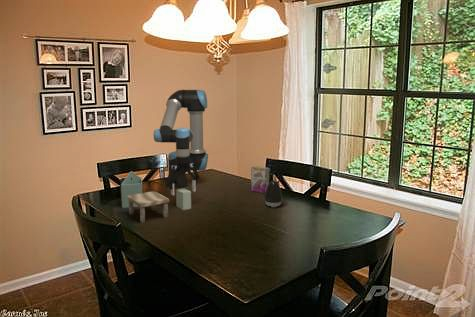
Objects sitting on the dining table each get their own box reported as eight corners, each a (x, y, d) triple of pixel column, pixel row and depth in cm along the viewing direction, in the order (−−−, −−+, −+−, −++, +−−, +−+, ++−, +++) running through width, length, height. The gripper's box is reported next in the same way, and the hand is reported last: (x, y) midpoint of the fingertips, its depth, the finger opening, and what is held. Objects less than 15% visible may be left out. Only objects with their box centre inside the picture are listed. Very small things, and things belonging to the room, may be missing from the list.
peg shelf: (155, 208, 228) (154, 191, 226) (169, 217, 214) (169, 199, 212) (127, 213, 219) (126, 195, 217) (141, 223, 205) (140, 204, 203)
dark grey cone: (285, 205, 235) (286, 180, 232) (274, 210, 228) (275, 183, 224) (271, 202, 242) (272, 177, 239) (260, 206, 234) (261, 180, 231)
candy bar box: (250, 191, 264) (250, 166, 261) (254, 189, 268) (254, 165, 265) (265, 194, 258) (266, 169, 255) (269, 192, 262) (269, 167, 259)
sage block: (184, 204, 235) (183, 188, 233) (191, 208, 229) (190, 191, 227) (176, 206, 232) (176, 189, 230) (183, 210, 226) (183, 192, 224)
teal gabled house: (132, 210, 225) (130, 175, 221) (121, 207, 229) (120, 173, 225) (152, 202, 239) (150, 169, 235) (142, 200, 243) (140, 168, 239)
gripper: (198, 152, 235) (198, 188, 239) (159, 157, 220) (160, 194, 224) (205, 154, 229) (205, 191, 233) (165, 159, 214) (166, 198, 218)
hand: (183, 193), depth 228 cm, fingers open, 13 cm apart
